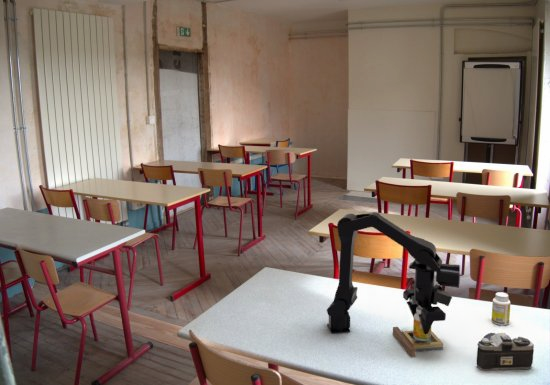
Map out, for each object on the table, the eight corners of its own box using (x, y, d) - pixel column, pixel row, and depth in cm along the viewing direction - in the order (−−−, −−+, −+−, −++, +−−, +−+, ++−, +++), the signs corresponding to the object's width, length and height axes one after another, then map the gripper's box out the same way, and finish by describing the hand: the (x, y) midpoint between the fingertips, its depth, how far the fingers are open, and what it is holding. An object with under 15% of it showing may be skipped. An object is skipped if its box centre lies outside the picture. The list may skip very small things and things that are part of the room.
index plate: (413, 352, 151) (413, 345, 150) (401, 337, 160) (402, 331, 159) (442, 349, 152) (443, 343, 151) (429, 335, 161) (430, 329, 160)
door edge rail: (410, 357, 148) (410, 349, 147) (392, 334, 162) (392, 327, 162) (415, 356, 148) (415, 349, 147) (397, 333, 162) (397, 326, 162)
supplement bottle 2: (503, 318, 172) (505, 290, 170) (512, 325, 167) (514, 297, 165) (488, 319, 172) (490, 291, 170) (496, 326, 166) (498, 298, 164)
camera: (517, 352, 149) (519, 322, 148) (535, 371, 139) (538, 338, 137) (465, 354, 149) (467, 323, 147) (480, 372, 139) (482, 340, 137)
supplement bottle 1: (411, 332, 158) (412, 304, 156) (428, 333, 158) (430, 305, 156) (414, 341, 153) (415, 311, 151) (432, 341, 152) (433, 312, 151)
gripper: (464, 292, 144) (460, 342, 147) (435, 271, 162) (433, 315, 165) (427, 295, 142) (425, 344, 145) (403, 272, 161) (401, 317, 164)
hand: (422, 329), depth 155 cm, fingers closed on supplement bottle 1, 5 cm apart
